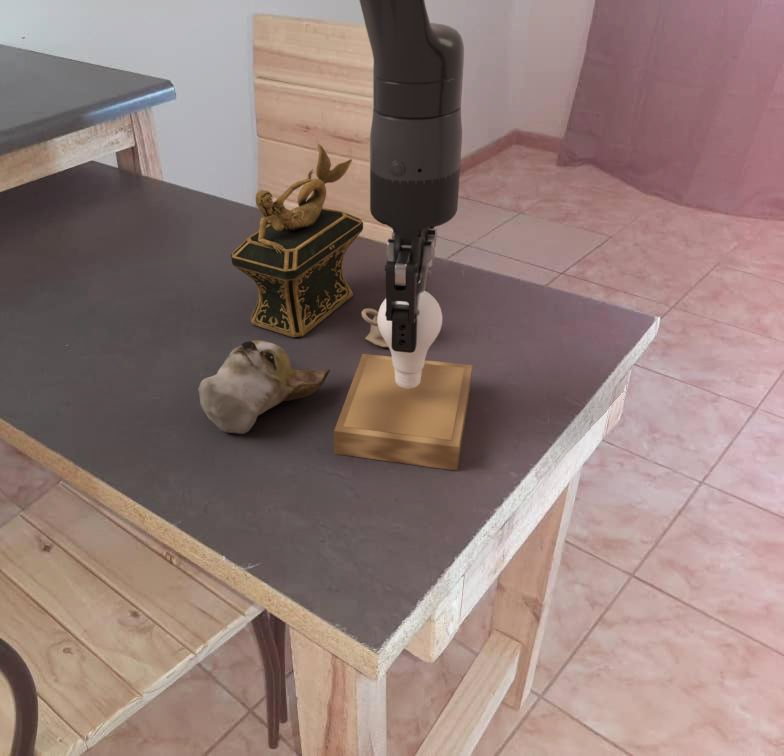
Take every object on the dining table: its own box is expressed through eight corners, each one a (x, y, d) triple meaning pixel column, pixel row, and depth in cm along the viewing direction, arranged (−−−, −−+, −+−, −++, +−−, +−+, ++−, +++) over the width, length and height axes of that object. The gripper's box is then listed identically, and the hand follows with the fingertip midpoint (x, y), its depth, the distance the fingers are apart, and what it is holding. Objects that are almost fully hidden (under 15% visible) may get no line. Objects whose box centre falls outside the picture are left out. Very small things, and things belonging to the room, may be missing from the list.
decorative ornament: (430, 342, 93) (433, 302, 90) (366, 357, 91) (366, 318, 88) (415, 326, 96) (417, 287, 93) (353, 340, 94) (352, 302, 91)
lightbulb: (365, 391, 78) (364, 295, 72) (399, 363, 82) (401, 270, 76) (417, 412, 75) (420, 314, 69) (449, 383, 79) (456, 286, 72)
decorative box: (297, 349, 94) (287, 192, 82) (235, 328, 98) (217, 178, 87) (380, 280, 106) (381, 137, 95) (321, 265, 111) (315, 127, 100)
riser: (470, 387, 85) (472, 364, 83) (457, 471, 74) (459, 446, 72) (362, 375, 88) (362, 353, 86) (334, 454, 77) (333, 430, 75)
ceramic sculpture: (164, 355, 78) (256, 300, 88) (172, 426, 82) (259, 365, 92) (247, 389, 72) (335, 325, 82) (251, 462, 77) (334, 393, 87)
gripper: (450, 195, 59) (439, 377, 68) (468, 135, 70) (456, 298, 79) (353, 191, 61) (355, 368, 70) (385, 133, 72) (383, 293, 81)
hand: (409, 330), depth 75 cm, fingers closed on lightbulb, 6 cm apart
